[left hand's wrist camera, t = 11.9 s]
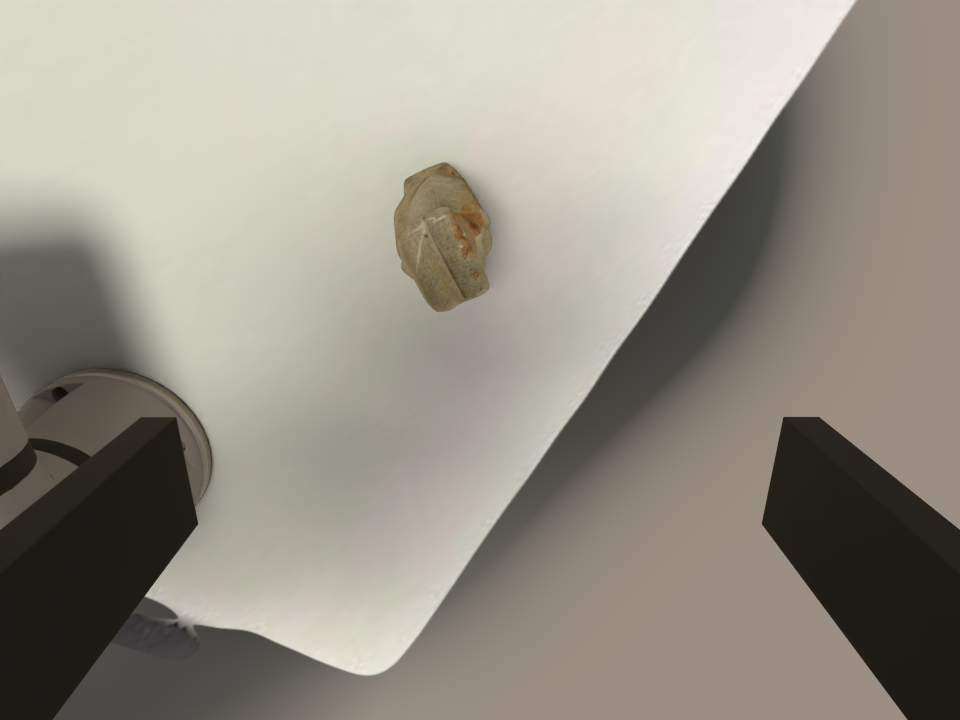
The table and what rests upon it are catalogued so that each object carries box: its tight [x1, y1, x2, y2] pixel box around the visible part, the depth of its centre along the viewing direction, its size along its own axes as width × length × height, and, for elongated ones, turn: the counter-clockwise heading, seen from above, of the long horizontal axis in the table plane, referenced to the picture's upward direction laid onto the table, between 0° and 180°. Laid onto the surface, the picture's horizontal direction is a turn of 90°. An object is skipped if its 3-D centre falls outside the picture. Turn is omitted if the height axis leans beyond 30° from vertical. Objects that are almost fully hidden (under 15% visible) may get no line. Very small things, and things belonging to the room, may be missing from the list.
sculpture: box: [394, 163, 492, 312], centre depth 35 cm, size 6×7×15 cm
